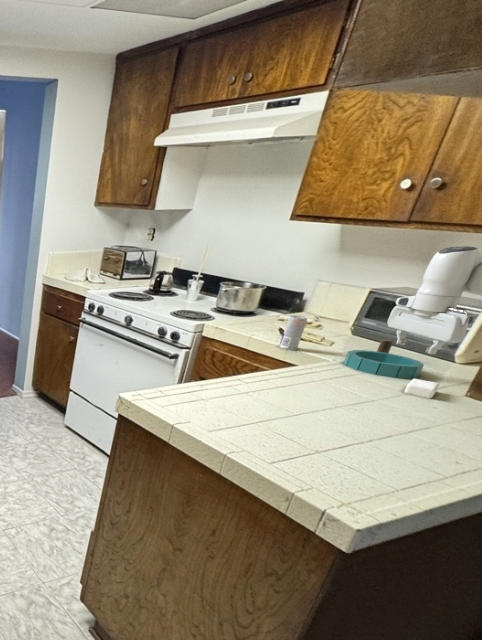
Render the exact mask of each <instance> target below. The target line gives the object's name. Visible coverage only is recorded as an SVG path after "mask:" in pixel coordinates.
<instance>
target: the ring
mask: <svg viewBox="0 0 482 640" xmlns="http://www.w3.org/2000/svg"><path fill="white" fill-rule="evenodd" d="M343 364H344V365H345V366H346V367H348V368H351V369H353V370H356V371H359V372H362V373H367V374H371V375H376V376H380V377H381V376H382V377H388V378H394V379H416V378H419V376H420V374H421V372H422V370H423V368H424V366H425V364H423V362H421V361H420V360H417V359H414V358H411V357H408V356H403V355H399V354H394V353H390V352H389V353H384V352H377V350H367V349H366V350H363V349H362V350H361V349H354V350H347V352H346V355H345V358H344V361H343Z"/></svg>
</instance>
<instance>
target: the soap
mask: <svg viewBox="0 0 482 640" xmlns="http://www.w3.org/2000/svg"><path fill="white" fill-rule="evenodd" d="M439 387H440V383H438V382H434V381H428V380H425V379H424V380H423V379H418V378H412V380H411V381H410V382H409V383H408V384H407V385H406V387H405V389H404V394H407V395H408V394H409V395H410V396H416V397H420V398H425V399H432V398H433V397H434V396H435V394H436V393H437V391H438V388H439Z"/></svg>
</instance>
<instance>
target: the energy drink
mask: <svg viewBox="0 0 482 640" xmlns="http://www.w3.org/2000/svg"><path fill="white" fill-rule="evenodd" d="M307 322H308V317H307V316H303V315H289V316H288V318H287V321H286V324H285V328H284V330H283V332H282V333H283V334H282V336H281V339H280V342H279V345H278V347H279V348H280V349H282V350H287V351H288V350H289V351H296V350H298V347H299V345H300V342H301V339H302V337H303V335H304V330H305V328H306V325H307Z"/></svg>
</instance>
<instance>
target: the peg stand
mask: <svg viewBox="0 0 482 640" xmlns="http://www.w3.org/2000/svg"><path fill="white" fill-rule="evenodd" d="M393 344H394V340H392V339H386V338H382V339H381V341H380V343H379V345H378V347H377V350H376V352H384V353H390V351H391V348H392V347H393Z"/></svg>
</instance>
